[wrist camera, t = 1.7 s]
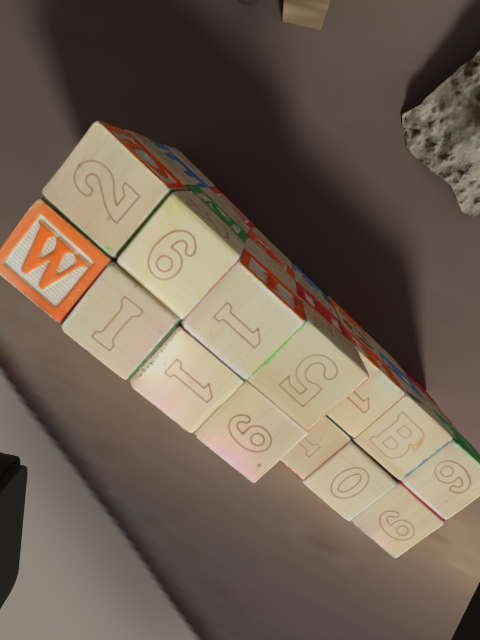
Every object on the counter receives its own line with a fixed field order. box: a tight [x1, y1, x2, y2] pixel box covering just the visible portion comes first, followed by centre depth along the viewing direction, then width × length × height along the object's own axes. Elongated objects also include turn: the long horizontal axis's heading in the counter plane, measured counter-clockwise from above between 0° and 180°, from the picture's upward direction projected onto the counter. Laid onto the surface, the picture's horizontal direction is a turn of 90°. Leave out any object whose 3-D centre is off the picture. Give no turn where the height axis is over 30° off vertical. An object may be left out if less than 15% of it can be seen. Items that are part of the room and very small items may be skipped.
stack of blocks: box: [0, 121, 480, 558], centre depth 22 cm, size 21×6×12 cm, turn 47°
